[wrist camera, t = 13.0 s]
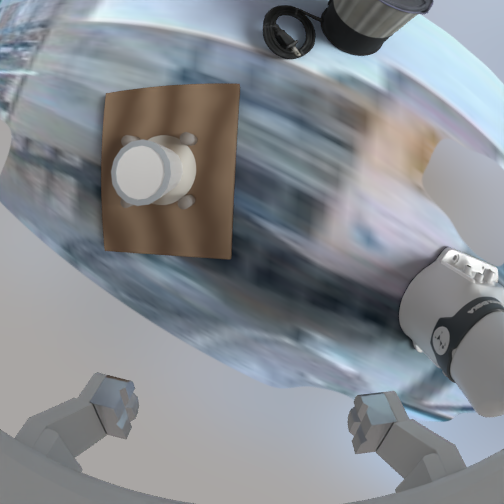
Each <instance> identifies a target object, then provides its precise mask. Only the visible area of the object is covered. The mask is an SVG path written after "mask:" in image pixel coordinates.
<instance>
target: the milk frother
mask: <svg viewBox="0 0 504 504" xmlns="http://www.w3.org/2000/svg"><path fill="white" fill-rule="evenodd" d="M328 5H329V7H328V8H326V9H325V10H324V12H323V13H322V16H321V18H319V17H316V16H314V15H312V14H309V13H307V12H305V11H303V10H301V9H298V8H295V7H293V6H287V5H284V6H277V7H274V8H272V9H271V10H270V11H268V13H267V14H266V15H265V18H264V21H263V36H264V40H265V42H266V44H267V46H268V47H269V49H270V50H271V51H272V52H273V53H275V54H276V55H278V56H280V57H282V58H285V59H296V58H299V57H302V56H304V55H305V54H307V53H308V52H309V51H310V50H311V49H312V48H313V46H314V42H315V30H314V27H313V25H312V23H311V21H310V20H309V19H308V17H307V16H309V17H311V18H313V19H315V20H317V21H320V22H321V27H322V30H323V33H324V34H325V36H326V37H327V38H328V40H329V41H330V42H331V43H332V44H333V45H335V46H336V47H337V48H339V49H341V50H342V51H345V52H347V53H350V54H353V55H358V56H365V55H370V54H373V53H375V52H377V51H378V50H379V49H380V48H381V46H382V44H383V43H384V42H385V41H386V40H387V39H388V38H389V37H390V36H392V35H393V34H394V33H395V32H396V31H398V30H399V29H400V28H401V27H403V26H404V25H405V24H406V23H407V22H409V21H410V20H411V19H412V18H414V17H415V16H416V15H418V14H426V13H428V11H429V10H430V8H431V7H432V5H433V0H329V2H328ZM282 15H289V16H293V17H295V18H297V19H298V20H299V21H300V22H301V23H302V24H303V26H304V28H305V32H306V40H305V43H304V45H303V46H302V47H301V48H300V49H299V50H298V49H297V48H296V43H297V42H298V40H296V41H295V40H293V38H292V37H291V36H289V35H288V34H287V33H286V32H285V31H284V30H281V29H280V28H279V26H278V25H276V20H277V18H278V17H279V16H282ZM306 15H307V16H306Z"/></svg>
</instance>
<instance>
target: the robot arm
mask: <svg viewBox="0 0 504 504" xmlns="http://www.w3.org/2000/svg"><path fill="white" fill-rule="evenodd" d="M453 256H454V258H453ZM399 321H400V325H401V328H402V330H403V331H404V333H405V334H406V335H407V336H409V337H410V338H411V339H412V341H413V345H414V347H415V349H416V350H417V351H418V352H424V353H425V354H426V355H427V356H428V357H429V359H430V360H431V361H432V362H433V363H434V364H435V365H436V366H437V367H439V368H441V369H442V371H443V373H444V374H445V376H446V377H448V378H449V379H450V380H451V381H452V382H454V383H456V384H457V385H458V387H459V388H460V389H461V391H462V392H463V394H464V395H465V397H466V398H467V399H468V401H469V402H470V404H471V405H472V407H473V408H474V410H475V411H476V412H477V413H478V414H479V415H481V416H483V417H496V416H501V415H503V414H504V288H503V287H502V286H501V285H500V284H498V269H497V268H496V267H495V266H493V265H491V264H489V263H487V262H485V261H482V260H480V259H478V258H475V257H473V256H470V255H468V254H466V253H463V252H461V251H458V250H456V249H453V248H451V247H447V248H445V249H444V250H443V251H442V253H441V254H440V255H439V257H438V258H437V259H436V261H435V262H433V263H432V264H431V265H429V266H428V267H426V268H425V269H423V270H422V271H421V272H420V273H419V274H418V275H417V276H416V277H415V278H414V279H413V280H412V282H411V283H410V285H409V286H408V288H407V290H406V291H405V293H404V296H403V298H402V301H401V305H400V310H399ZM134 389H135V387H134V384H133V382H132V381H129V380H125V379H121V378H117V377H113V376H110V375H105V374H101V373H98V372H97V373H95V374H94V375H93V376H92V378H91V379H90V380H89V382H88V384H87V385H86V387H85V388H84V390H83V391H82V392H81V394H80V395H79V397H78V398H72V399H70V400H68V401H66V402H64V403H61V404H59V405H57V406H55V407H52V408H50V409H48V410H46V411H44V412H41V413H39V414H36V415H34V416H32V417H29V419H28V420H27V421H26V423H25V424H24V425H23V427H22V428H21V430H20V431H19V433H18V434H17V435H16V437H15V438H13V437H11V436H10V435H8V434H7V433H5V432H4V431H2V430H1V429H0V504H194V503H188V502H182V501H176V500H171V499H166V498H162V497H157V496H153V495H149V494H145V493H141V492H137V491H134V490H130V489H126V488H124V487H120V486H117V485H114V484H111V483H108V482H105V481H102V480H100V479H97V478H94V477H92V476H89V475H86V474H84V473H81V472H82V468H81V466H80V464H79V463H78V462H77V461H76V459H75V457H76V456H78V455H79V454H81V453H82V452H84V451H85V450H87V449H88V448H90V447H91V446H92V445H94V444H95V443H97V442H98V441H99V440H101V439H102V438H104V437H105V436H106V434H107V435H111V436H115V437H119V438H123V439H127V437H128V435H129V432H130V430H131V428H132V426H131V423H130V422H131V421H132V420H134V419H135V418H136V416H137V413H138V408H139V402H138V397H137V396H136V395H135V394H134V393H133V391H134ZM354 404H355V407H353V408H352V409H351V410H350V412H349V415H348V428H349V432H350V433H351V434H352V435H354V438H353V440H352V443H353V447H354V451H355V454H361V453H367V452H376V453H377V454H378V455H379V456H380V457H381V458H382V459H383V460H385V462H387V463H388V464H389V465H390V466H391V467H392V468H393V469H394V470H395V471H396V472H398V473H399V474H400V475H401V476H402V477H403V478H404V480H403V481H402V482H401V483H400V484H399V486H398V487H397V488H396V489H395V491H396V493H394V494H390V495H386V496H382V497H377V498H372V499H368V500H362V501H357V502H352V503H345V504H504V449H502V450H501V451H499V452H497V453H495V454H493V455H491V456H490V457H488V458H486V459H484V460H482V461H480V462H478V463H476V464H474V465H471V466H469V467H466V465H465V463H464V461H463V459H462V457H461V455H460V453H459V451H458V449H457V448H456V446H455V445H454V444H453V443H451V442H449V441H448V440H446V439H444V438H443V437H441V436H439V435H438V434H436V433H434V432H433V431H431V430H429V429H428V428H426V427H425V426H423V425H421V424H420V423H418V422H417V421H415V420H413V419H411V420H410V419H409V417H408V415H407V413H406V411H405V409H404V407H403V405H402V403H401V401H400V399H399V397H398V396H397V394H396V392H395V391H389V392H382V393H372V394H363V395H357V396H356V397H355V400H354Z"/></svg>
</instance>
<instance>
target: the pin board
mask: <svg viewBox="0 0 504 504" xmlns="http://www.w3.org/2000/svg"><path fill="white" fill-rule="evenodd" d="M239 98H240V84H187V85H171V86H159V87H149V88H140V89H132V90H125V91H118V92H112V93H106V98H105V108H104V120H103V135H102V160H101V195H102V220H103V236H104V248H105V251H115V252H129V253H143V254H157V255H172V256H186V257H202V258H217V259H231V256H232V230H233V207H234V186H235V166H236V147H237V130H238V114H239ZM142 139H143V140H148V141H152V142H155V143H157V144H159V145H162V146H164V147H166V148H168V149H170V150H172V151H173V152H175V153H176V154H177V155H178V156H179V158H180V160H181V162H182V166H183V174H182V177H181V181H180V182H179V183H178V184H177V186H176V187H175V188H174V189H172V190H171V191H169V192H168V193H166V194H165V195H163V196H162V197H161V198H159V199H157V200H156V201H154V202H152V203H151V204H149V205H141V206H136V205H133V204H130V203H127V202H125V201H124V200H123V199H122V198H121V197H120V196H119V195H118V194H117V192H116V190H115V188H114V186H113V184H112V176H111V170H112V166H113V161H114V159H115V157H116V156H117V154H118V153H119V151H120V150H121V148H123V147H124V146H126V145H127V144H129V143H130V142H132V141H137V140H142Z"/></svg>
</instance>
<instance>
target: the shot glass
mask: <svg viewBox="0 0 504 504" xmlns="http://www.w3.org/2000/svg"><path fill="white" fill-rule="evenodd" d="M182 174H183V166H182V162H181V160H180V158H179V156H178V155H177V154H176V153H175V152H173V151H172V150H170V149H168V148H166V147H164V146H162V145H159V144H157V143H155V142H152V141H148V140H143V139H142V140H137V141H132V142H130V143H129V144H127V145H126V146H124V147H123V148H121V150H120V151H119V153H118V154H117V156H116V157H115V159H114V161H113V166H112V170H111V176H112V184H113V186H114V188H115V190H116V192H117V194H118V195H119V196H120V197H121V198H122V199H123V200H124V201H125V202H127V203H130V204H133V205H136V206H141V205H149V204H151V203H152V202H154V201H156V200H157V199H159V198H161V197H162V196H163V195H165V194H166V193H168V192H169V191H171V190H172V189H174V188H175V187H176V186H177V184H178V183H179V182H180V181H181V177H182Z"/></svg>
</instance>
